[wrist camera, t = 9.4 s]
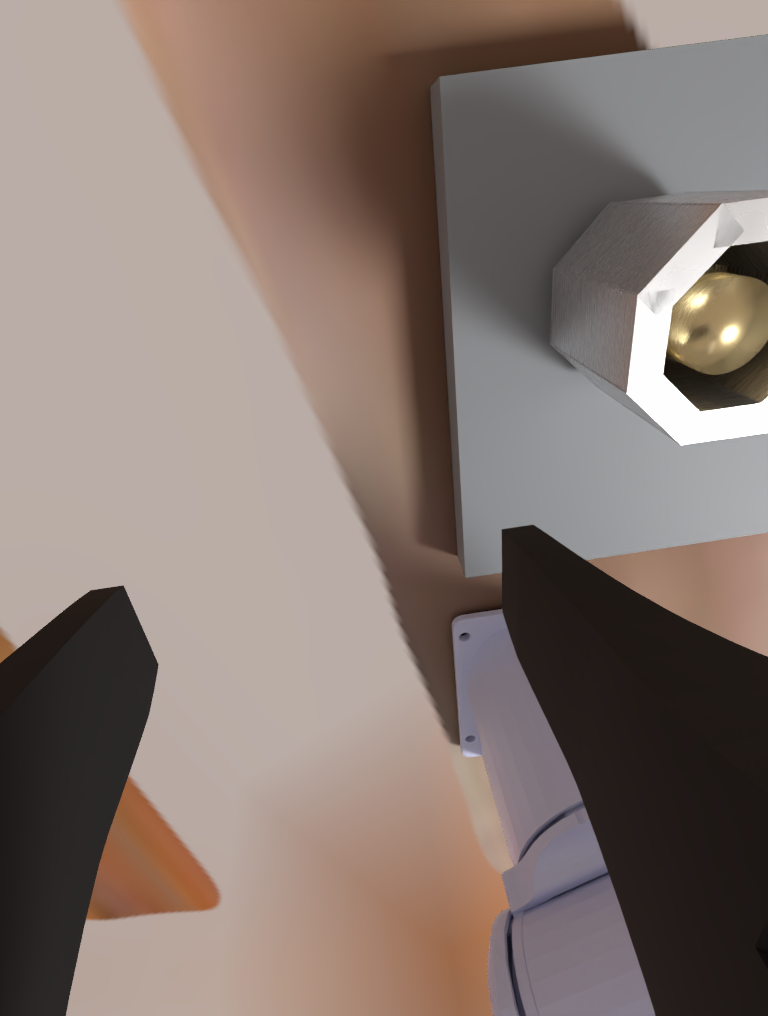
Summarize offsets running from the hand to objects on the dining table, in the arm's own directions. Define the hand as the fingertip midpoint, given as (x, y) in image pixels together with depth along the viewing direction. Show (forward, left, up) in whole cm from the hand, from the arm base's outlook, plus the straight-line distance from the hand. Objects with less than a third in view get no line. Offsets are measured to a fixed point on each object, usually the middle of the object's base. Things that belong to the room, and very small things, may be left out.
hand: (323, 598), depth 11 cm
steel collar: (+3, -10, -8) cm, 13 cm away
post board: (+1, -16, -10) cm, 19 cm away
